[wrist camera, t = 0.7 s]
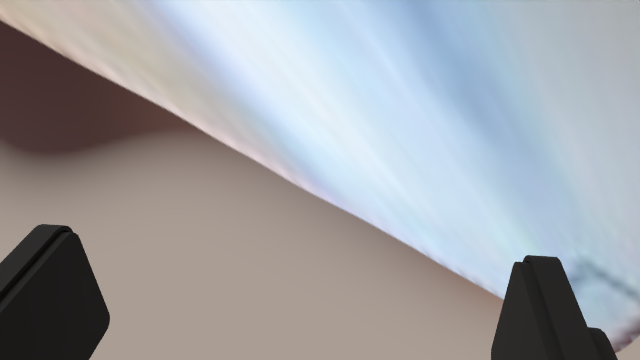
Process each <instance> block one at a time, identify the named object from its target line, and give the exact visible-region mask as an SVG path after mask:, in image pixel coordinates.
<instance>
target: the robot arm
mask: <svg viewBox="0 0 640 360" xmlns="http://www.w3.org/2000/svg"><path fill="white" fill-rule="evenodd" d="M109 321H110V315H109V312H108V309H107V306H106V304H105V302H104V299H103V296H102V294H101V291H100V289H99V286H98V284H97V281H96V279H95V276H94V274H93V271H92V269H91V266H90V264H89V261H88V258H87V256H86V253H85V251H84V249H83V246H82V243H81V241H80V238H79V237H78V235H77V234H76V233H73V231H72V229H71V228H70V227H68V226H62V225H47V224H42V225H38V226H37V227H35V228H34V229H33V230H32V231H31V232H30V233H29V234H28V235H27V236H26V237H25V238H24V239H23V240H22V241H21V242H20V243H19V245H18V246H17V247H16V248H15V249H14V250H13V251H12V252H11V253H10V254H9V255H8V256H7V257H6V258H5V259H4V260H3V261H2V262H1V263H0V360H89V358H90V357H91V355H92V354H93V352H94V350H95V349H96V347H97V345H98V344H99V342H100V340H101V339H102V337H103V336H104V334H105V332H106V331H107V329H108V326H109ZM491 360H618V359H617V357H616V355H615V352H614V350H613V348H612V346H611V343H610V341H609V339H608V338H607V336H606V334H605V333H604V332H603V331H602V330H601V329H598V328H589V327H587V325H586V322H585V320H584V317H583V315H582V312H581V310H580V308H579V305H578V303H577V300H576V298H575V295H574V293H573V291H572V288H571V286H570V283H569V281H568V278H567V276H566V273H565V271H564V269H563V266H562V264H561V262H560V260H559V259H558V258H557V257H547V256H531V255H527V256H525V258H524V260H523V262H515V263H514V265H513V268H512V272H511V276H510V280H509V284H508V287H507V291H506V295H505V299H504V303H503V306H502V311H501V314H500V318H499V322H498V325H497V329H496V333H495V337H494V341H493V345H492V349H491Z"/></svg>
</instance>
